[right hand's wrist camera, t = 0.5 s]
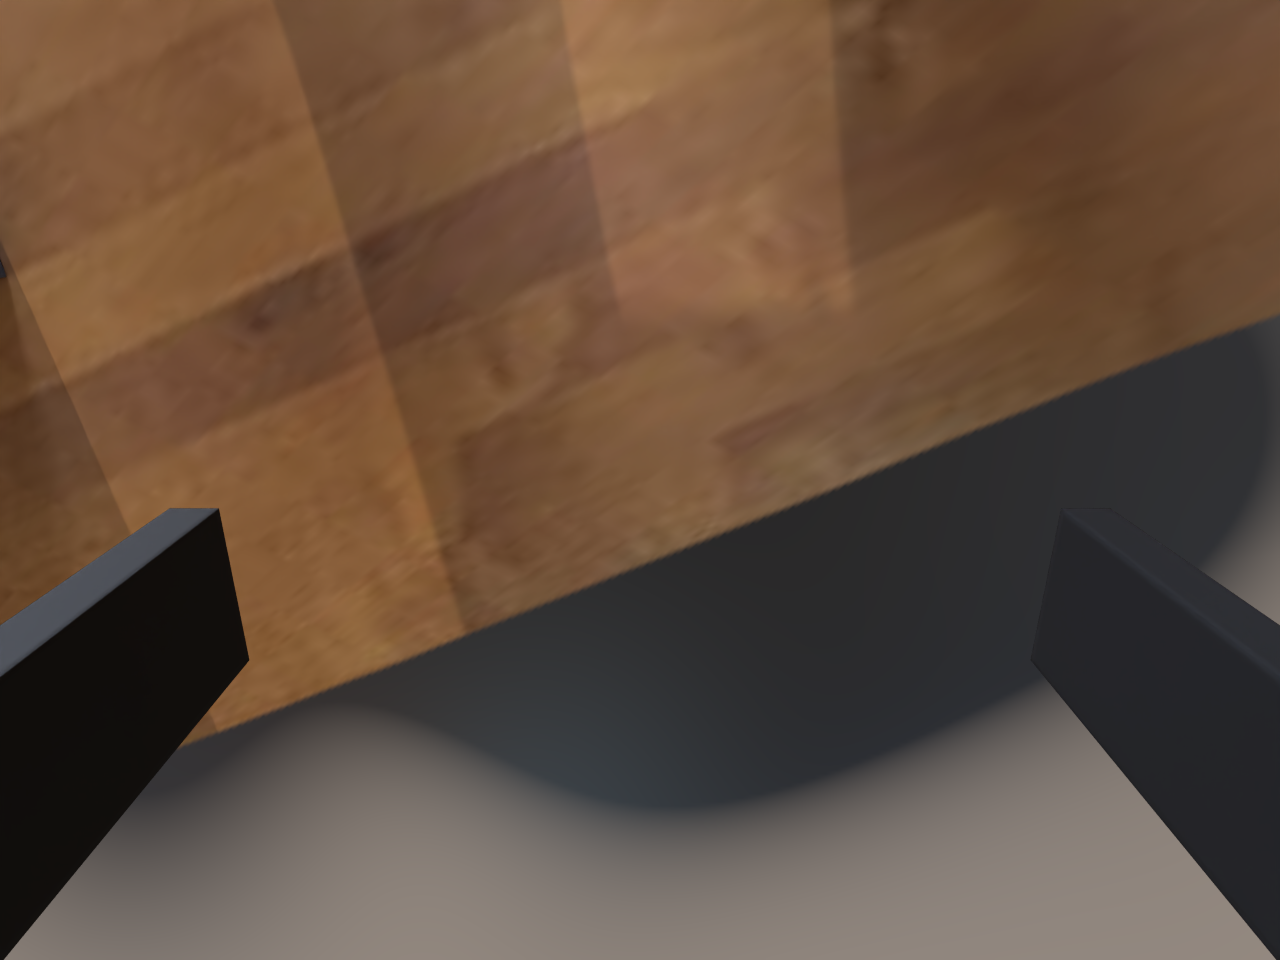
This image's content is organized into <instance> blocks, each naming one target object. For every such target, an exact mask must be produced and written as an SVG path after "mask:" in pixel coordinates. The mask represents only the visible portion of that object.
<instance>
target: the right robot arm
mask: <svg viewBox="0 0 1280 960" xmlns="http://www.w3.org/2000/svg"><path fill="white" fill-rule="evenodd" d="M248 661H249V656H248V651H247V646H246V641H245V636H244V631H243V626H242V621H241V616H240V611H239V606H238V601H237V596H236V591H235V586H234V582H233V577H232V572H231V567H230V562H229V557H228V552H227V547H226V542H225V537H224V532H223V527H222V522H221V517H220V512H219V508H170V509H168V510H167V511H165V512H164V513H162V514H161V515H159V516H158V517H157V518H155V519H154V520H152V521H151V522H149V523H148V524H146V525H145V526H144V527H142V528H141V529H139V530H138V531H136V532H135V533H133V534H132V535H130V536H129V537H128V538H126V539H125V540H123V541H122V542H120V543H119V544H117V545H116V546H115V547H113V548H112V549H110V550H109V551H107V552H106V553H104V554H103V555H101V556H100V557H99V558H97V559H96V560H94V561H93V562H91V563H90V564H88V565H87V566H86V567H84V568H83V569H81V570H80V571H78V572H77V573H75V574H74V575H73V576H71V577H70V578H68V579H67V580H65V581H64V582H62V583H61V584H59V585H58V586H57V587H55V588H54V589H52V590H51V591H49V592H48V593H46V594H45V595H44V596H42V597H41V598H39V599H38V600H36V601H35V602H33V603H32V604H31V605H29V606H28V607H26V608H25V609H23V610H22V611H20V612H19V613H17V614H16V615H15V616H13V617H12V618H10V619H9V620H7V621H6V622H4V623H3V624H2V625H0V960H4V959H5V957H6V956H7V955H8V954H9V953H10V951H11V950H12V949H13V948H14V946H15V945H16V944H17V943H18V942H19V940H20V939H21V938H22V937H23V935H24V934H25V933H26V932H27V931H28V929H29V928H30V927H31V926H32V924H33V923H34V922H35V921H36V920H37V918H38V917H39V916H40V915H41V914H42V912H43V911H44V910H45V909H46V907H47V906H48V905H49V904H50V903H51V901H52V900H53V899H54V898H55V896H56V895H57V894H58V893H59V892H60V890H61V889H62V888H63V887H64V885H65V884H66V883H67V882H68V881H69V879H70V878H71V877H72V876H73V875H74V873H75V872H76V871H77V870H78V868H79V867H80V866H81V865H82V864H83V862H84V861H85V860H86V859H87V857H88V856H89V855H90V854H91V853H92V851H93V850H94V849H95V848H96V846H97V845H98V844H99V843H100V842H101V840H102V839H103V838H104V837H105V836H106V834H107V833H108V832H109V831H110V829H111V828H112V827H113V826H114V825H115V823H116V822H117V821H118V820H119V818H120V817H121V816H122V815H123V814H124V812H125V811H126V810H127V809H128V807H129V806H130V805H131V804H132V803H133V801H134V800H135V799H136V798H137V796H138V795H139V794H140V793H141V792H142V790H143V789H144V788H145V787H146V786H147V784H148V783H149V782H150V781H151V779H152V778H153V777H154V776H155V775H156V773H157V772H158V771H159V770H160V768H161V767H162V766H163V765H164V764H165V762H166V761H167V760H168V759H169V757H170V756H171V755H172V754H173V753H174V751H175V750H176V749H177V748H178V747H179V745H180V744H181V743H182V742H183V740H184V739H185V738H186V737H187V736H188V734H189V733H190V732H191V731H192V729H193V728H194V727H195V726H196V725H197V723H198V722H199V721H200V720H201V718H202V717H203V716H204V715H205V714H206V712H207V711H208V710H209V709H210V707H211V706H212V705H213V704H214V703H215V701H216V700H217V699H218V698H219V697H220V695H221V694H222V693H223V692H224V690H225V689H226V688H227V687H228V686H229V684H230V683H231V682H232V681H233V679H234V678H235V677H236V676H237V675H238V673H239V672H240V671H241V670H242V668H243V667H244V666H245V665H246V664H247V662H248ZM1031 661H1032V662H1033V664H1034V665H1035V666H1036V667H1037V668H1038V670H1039V671H1040V672H1041V673H1042V674H1043V676H1044V677H1045V678H1046V679H1047V681H1048V682H1049V683H1050V684H1051V686H1052V687H1053V688H1054V689H1055V690H1056V692H1057V693H1058V694H1059V695H1060V697H1061V698H1062V699H1063V700H1064V701H1065V703H1066V704H1067V705H1068V706H1069V707H1070V709H1071V710H1072V711H1073V712H1074V714H1075V715H1076V716H1077V717H1078V718H1079V720H1080V721H1081V722H1082V723H1083V725H1084V726H1085V727H1086V728H1087V729H1088V731H1089V732H1090V733H1091V734H1092V736H1093V737H1094V738H1095V739H1096V740H1097V742H1098V743H1099V744H1100V745H1101V746H1102V748H1103V749H1104V750H1105V751H1106V753H1107V754H1108V755H1109V756H1110V757H1111V759H1112V760H1113V761H1114V762H1115V764H1116V765H1117V766H1118V767H1119V768H1120V770H1121V771H1122V772H1123V773H1124V775H1125V776H1126V777H1127V778H1128V779H1129V781H1130V782H1131V783H1132V784H1133V786H1134V787H1135V788H1136V789H1137V790H1138V792H1139V793H1140V794H1141V795H1142V796H1143V798H1144V799H1145V800H1146V801H1147V803H1148V804H1149V805H1150V806H1151V807H1152V809H1153V810H1154V811H1155V812H1156V814H1157V815H1158V816H1159V817H1160V818H1161V820H1162V821H1163V822H1164V823H1165V825H1166V826H1167V827H1168V828H1169V829H1170V831H1171V832H1172V833H1173V834H1174V836H1175V837H1176V838H1177V839H1178V840H1179V842H1180V843H1181V844H1182V845H1183V846H1184V848H1185V849H1186V850H1187V851H1188V853H1189V854H1190V855H1191V856H1192V857H1193V859H1194V860H1195V861H1196V862H1197V864H1198V865H1199V866H1200V867H1201V868H1202V870H1203V871H1204V872H1205V873H1206V875H1207V876H1208V877H1209V878H1210V879H1211V881H1212V882H1213V883H1214V884H1215V885H1216V887H1217V888H1218V889H1219V890H1220V892H1221V893H1222V894H1223V895H1224V896H1225V898H1226V899H1227V900H1228V901H1229V903H1230V904H1231V905H1232V906H1233V907H1234V909H1235V910H1236V911H1237V912H1238V913H1239V915H1240V916H1241V917H1242V918H1243V920H1244V921H1245V922H1246V923H1247V924H1248V926H1249V927H1250V928H1251V929H1252V931H1253V932H1254V933H1255V934H1256V935H1257V937H1258V938H1259V939H1260V940H1261V941H1262V943H1263V944H1264V945H1265V946H1266V948H1267V949H1268V950H1269V951H1270V953H1271V954H1272V955H1273V956H1274V957H1275V959H1276V960H1280V625H1278V624H1277V623H1276V622H1274V621H1273V620H1271V619H1270V618H1268V617H1267V616H1265V615H1264V614H1262V613H1261V612H1260V611H1258V610H1257V609H1255V608H1254V607H1252V606H1251V605H1249V604H1248V603H1247V602H1245V601H1244V600H1242V599H1241V598H1239V597H1238V596H1236V595H1235V594H1234V593H1232V592H1231V591H1229V590H1228V589H1226V588H1225V587H1223V586H1222V585H1221V584H1219V583H1218V582H1216V581H1215V580H1213V579H1212V578H1210V577H1209V576H1207V575H1206V574H1205V573H1203V572H1202V571H1200V570H1199V569H1197V568H1196V567H1194V566H1193V565H1191V564H1190V563H1188V562H1187V561H1186V560H1184V559H1183V558H1181V557H1180V556H1178V555H1177V554H1176V553H1174V552H1173V551H1171V550H1170V549H1168V548H1167V547H1165V546H1164V545H1163V544H1161V543H1160V542H1158V541H1157V540H1155V539H1154V538H1152V537H1151V536H1150V535H1148V534H1147V533H1145V532H1144V531H1142V530H1141V529H1139V528H1138V527H1136V526H1135V525H1134V524H1132V523H1131V522H1129V521H1128V520H1126V519H1125V518H1123V517H1122V516H1121V515H1119V514H1118V513H1116V512H1115V511H1113V510H1112V509H1110V508H1062V509H1061V512H1060V517H1059V522H1058V527H1057V532H1056V537H1055V542H1054V547H1053V552H1052V557H1051V562H1050V567H1049V572H1048V577H1047V582H1046V586H1045V592H1044V597H1043V601H1042V606H1041V611H1040V616H1039V621H1038V627H1037V631H1036V636H1035V641H1034V646H1033V651H1032V656H1031Z"/></svg>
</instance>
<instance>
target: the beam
mask: <svg viewBox="0 0 1280 960" xmlns="http://www.w3.org/2000/svg"><path fill="white" fill-rule="evenodd" d="M5 277H6V274H5V271H4V269H3V266H2V263H1V261H0V278H5Z"/></svg>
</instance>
